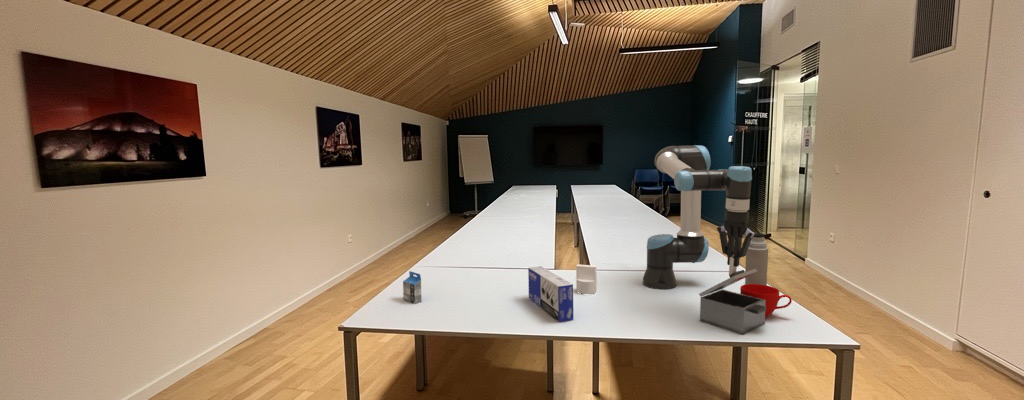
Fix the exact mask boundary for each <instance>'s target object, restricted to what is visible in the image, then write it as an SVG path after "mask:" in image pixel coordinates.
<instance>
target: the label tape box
mask: <svg viewBox="0 0 1024 400" xmlns="http://www.w3.org/2000/svg"><path fill="white" fill-rule="evenodd" d="M408 273H409V276H408V277H407V278H405V279H404V280H403V281H402V287H403V288H402V291H403V293H402V296H403V297H402V299H403V301H405V302H410V303H412V304H419V302H420V303H422V301H423V300H422V278H421V274H420V273H417V272H414V271H410V270H409V271H408Z"/></svg>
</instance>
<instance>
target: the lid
mask: <svg viewBox="0 0 1024 400" xmlns="http://www.w3.org/2000/svg"><path fill="white" fill-rule="evenodd" d="M756 272H758V271H757V270H756V269H753V270H750V271H747V272H745V269H741V270H739V271H736V272H735V273H733V274H731V275H729V274H728V276H729V278H727V279H725V280H723V281H721V282H719V283H718V284H716V285H713V286H711V287H710V288H708V289H706V290H703V291H701V292H699V293H698V295H699V297H700V298H701V297H703V296H706V295H708V294H711V293H714V292H717V291H719V290H722V289H723V290H724V289H725V288H726V287H729V286H732V285H733V284H736V283H737V282H739V281H742V280H743V279H744V280H745V278H746V277H748V276H750V275H752V274H754V273H756Z"/></svg>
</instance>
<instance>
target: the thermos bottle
mask: <svg viewBox="0 0 1024 400" xmlns="http://www.w3.org/2000/svg"><path fill="white" fill-rule="evenodd" d="M767 244H768V243H767V241H766V240H765V234H764V233H761V232H755V235H754V236H753V237H752V239H751V242H750V245H749V247H748V250H747V253H746V256H745V269H744V271H745V272H747V271H750V270H753V269H756V270H757V271H758V272H756V273H754V274H752V275H750V276H748V277H746V278H744V285H745V284H761V285H767V286H768V265H769V264H768V263H769V247H768V245H767Z"/></svg>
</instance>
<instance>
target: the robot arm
mask: <svg viewBox="0 0 1024 400" xmlns="http://www.w3.org/2000/svg"><path fill="white" fill-rule="evenodd" d="M711 162H712V160H711V155H710V152H709V150H708V148H707V147H706V146H704V145H696V144H694V145H670V146H665V147H664V148H662V149H661V150H659V151H658V152H657V153H656V155H655V158H654V166H655V167H656V169H657V170H658V171H660V172H661V173H663V174H667V175H668V176H669V177H671V178H672V179H673V181H674V182H673V183H674V187H675V189H676V190H677V191H679V192H680V229H679V231H677V232H676V237H674V235H672V234H670V233H667V234H665V233H660V234H654V235H651V236H650V237H648V238H647V241H646V269H645V272H644V275H643V277H642V285H644V286H645V285H646V286H645V287H647V286H648V287H647V288H651V287H652V289H656V288H657V290H668V289H669V290H670V289H671V290H672V289H674V288H676V287H677V286H678V285H677V281H678V280H677V279H676V275H675V272H674V263H675V264H676V263H679V264H680V263H682V264H683V263H684V264H685V263H689V264H691V263H692V264H695V263H702V262H704V261H705V260H706V259H707V257H708V254H709V249H710V247H709V246H710V245H709V240H708V238H706V237H705V235H704V232H702V231H701V216H702V215H701V214H702V213H701V209H702V191H726V195H725V209H726V210H725V211H724V222H723V225H721V226H717V227H716V231H717V232H718V234H719V239H720V245H721V251H722V254H724V255H726V257H727V261H726V263H727V265H728V276H729V275H731V274H733V273H735V272H737V269H738V267H740V259H741V258H744V257H746V253H747V250H748V247H749V245H750V242H751V239H752V237H753V236H754V235H755V233H756V232H754V231H752V230H751V229H750V226H749V215H750V212H749V210H750V201H751V199H750V198H751V189H752V188H751V187H752V180H753V175H752V173H753V171H752V168H751V167H750V166H743V165H739V166H738V165H737V166H736V165H735V166H734V165H733V166H732V165H731V166H729V167H728V168H727V169H726V168H723V169H722V168H721V169H711V170H710V168H711ZM744 235H745V237H744ZM743 237H744V239H743ZM742 240H743V243H742Z"/></svg>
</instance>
